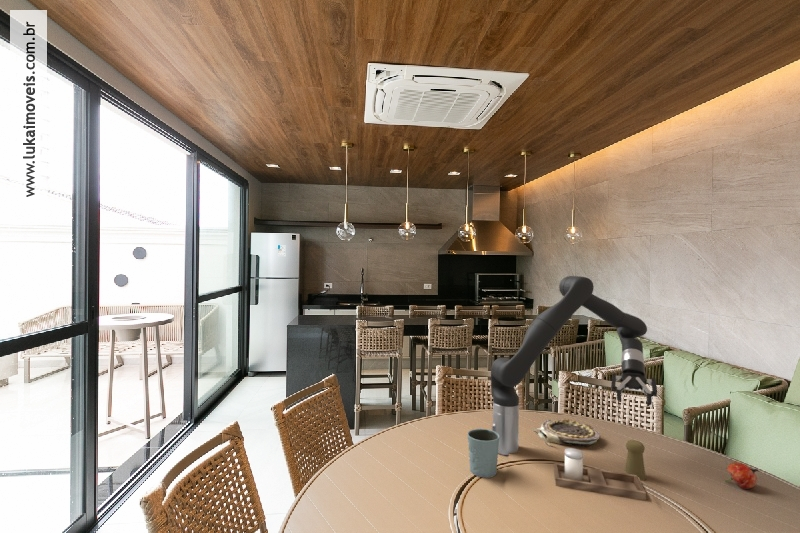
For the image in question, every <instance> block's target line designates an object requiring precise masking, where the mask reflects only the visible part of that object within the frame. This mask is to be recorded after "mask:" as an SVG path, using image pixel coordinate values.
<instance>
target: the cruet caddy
mask: <svg viewBox="0 0 800 533" xmlns="http://www.w3.org/2000/svg"><path fill="white" fill-rule="evenodd" d="M553 475H554V482H555V487H556V486H557V487H562V488H568V489H575V490H580V491H587V492H593V493H599V494H603V495H611V496H616V497H617V496H618V497H624V498H628V499H629V498H630V499H636V500H641V501H647V492H646V489H644V487H643V485H642V482H641V480H640V478H639V477H637V475H632V474H627V473H626V472H619V471H612V470H604V469H599V468H592V467H591V468H590V467H584V466H583V481H577V480H570V479H565V463H558V462H553Z"/></svg>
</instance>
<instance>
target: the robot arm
mask: <svg viewBox="0 0 800 533" xmlns="http://www.w3.org/2000/svg"><path fill="white" fill-rule="evenodd" d="M558 288H559V289H558V290H559V293H560V294H561V295H562V298H561V299H560V300H559V301H558V302H557V303H555V304H554V305H552V306H551V307H548V308H547V309H544V311H542V312H541V313H539V314H538V315H537V316H536V317H535V319H534V320H533V321H532V323H530V325H529V326H528V328H527V329H526V331H525V335H524V336H523V337H524V338H523V340H522V344H521V347H519V349H518V351H517V352H516V353H515V354H514V355H513V356H512V357H511V358H510V359H509V358H506V357H498V358H497V359H495V360H494V361H493V363H492V364H491V367H490V391H491V395H492V400H493V401H492V426H491V430H492V431H494V432H496V433H498V434H499V446H498V455H503V456H509V455H510V454H515V453H517V452H519V442H520V441H519V440H520V439H519V436H520V435H519V434H520V432H519V430H520V428H519V427H520V424H519V422H520V420H519V419H520V397H519V395H518V393H517V391H516V389H515V387H516V386H517V385H519V384H520V383H521V382H522V381H523V380H524V378H525V377H526V375H527V374H528V372H529V370H530V369H531V368H532V365H534V363H535V362H536V360H537V359H538V358H539V357H540V355H541V353H542V352H544V350H545V349H546V347H547V346H548V345H549V344H551V342H552V340H554V339H555V337H556V336H557V334H559V332H560V331H561V329H562V328H563V327H564V326H565V324H566V323H567V322H568V321H569V320H570V318H571V317H572V316H573V315H575V313H576V312H577V311H578V310H579V309H580V308H581V307H583V308H585V309H587V310H588V311H590V312H591V313H593V314H595V315H596V316H597V317H599V319H601V320H603V321H604V322H605V323H607V324H608V325H610V326H611V327H613V328H617V329H616V333H617V336H618V338H619V341H620V344H621V359H620V360H621V361H620V363H621V364H620V365H621V374H620V375H617V374H616V373H612V376H611V388H610V389H611V391H612V392H615V393H616V401H618V402H619V403H622V392H623V391H625V390H626V389H629V390H637V391H639V390H640V391H641V392H642V393H643V394H645V395H646V406H647V407H650V406H652V404H653V401H652V397H657V396H658V387H657V381H656V378H655V377H652V378H647V377H646V368H645V364H646V363H645V358H644V349H643V348H644V347H643V343H642V341H641V340H640V339H638V338H640V337H642V336H644V335H646V334H647V332H648V326H647V325H646V323H645V322H644V321H643V320H642V319H641V318H639V317H638V316H635V315H632V314H630V313H626V312H624V311H623V310H621V309H620V308H618V307H617V306H615V305H614V304H613V303H611V302H609V301H607V300H605V299H602V298H601V297H598V296H597V295H594V294H593V292H594V282H593V280H592V279H590V278H588V277H585V276H578V275H577V276H576V275H569V276H568V275H567V276H565V277H563V278H562V279H561V280H560V282H559V285H558ZM619 380H620V381H621V383H620V384H619V385H618V386H616V383H617V382H618V381H619ZM647 384H648V385H649V386H650V387H651V390H650V389H649V388H648V386H647Z"/></svg>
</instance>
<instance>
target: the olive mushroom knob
mask: <svg viewBox="0 0 800 533" xmlns="http://www.w3.org/2000/svg"><path fill="white" fill-rule="evenodd" d="M625 447H626V450H627V454H626V459H625V460H626V461H625V467H624V473H625V474H632V475H637V477H638V479H639V481H645V480H646V469H645V462H644V454H643V453H645V445H644V444H643V443H642V441H638V440H635V439H629V440H627V441H626V443H625Z"/></svg>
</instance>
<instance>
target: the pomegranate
mask: <svg viewBox="0 0 800 533" xmlns="http://www.w3.org/2000/svg"><path fill="white" fill-rule="evenodd" d="M726 470H727V472H728V473H729V474H730V476H731V478H728V479H726V480H724V482H725V481H726V482H728V481H731V480H733V481H734V482H735V483H736V484H737V485H738V487H740V488H741V489H747V490H748V489H752V488H754V487H755V486H756V485H757V482H758V481H757V480H758V477H757V475H756V472H760V470H759V469H758V468H751V467H750V466H748V465H747V464H745V463H742V462H738V461H735V462H732V463H730V464H729V465H727V468H726Z"/></svg>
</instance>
